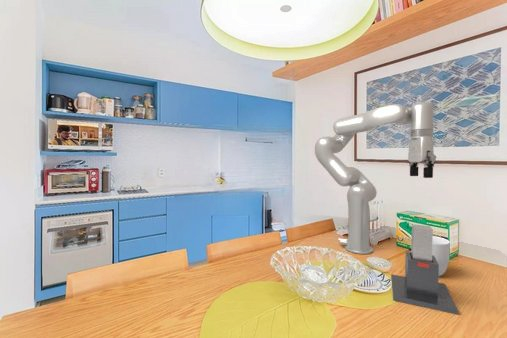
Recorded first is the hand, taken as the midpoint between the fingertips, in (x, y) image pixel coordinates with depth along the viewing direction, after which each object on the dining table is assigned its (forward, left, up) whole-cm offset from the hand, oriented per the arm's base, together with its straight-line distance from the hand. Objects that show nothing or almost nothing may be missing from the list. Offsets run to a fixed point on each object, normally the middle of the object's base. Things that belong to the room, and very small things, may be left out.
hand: (420, 176), depth 103 cm
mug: (+2, -7, -37) cm, 37 cm away
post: (-3, -27, -34) cm, 43 cm away
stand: (-3, -27, -36) cm, 45 cm away
